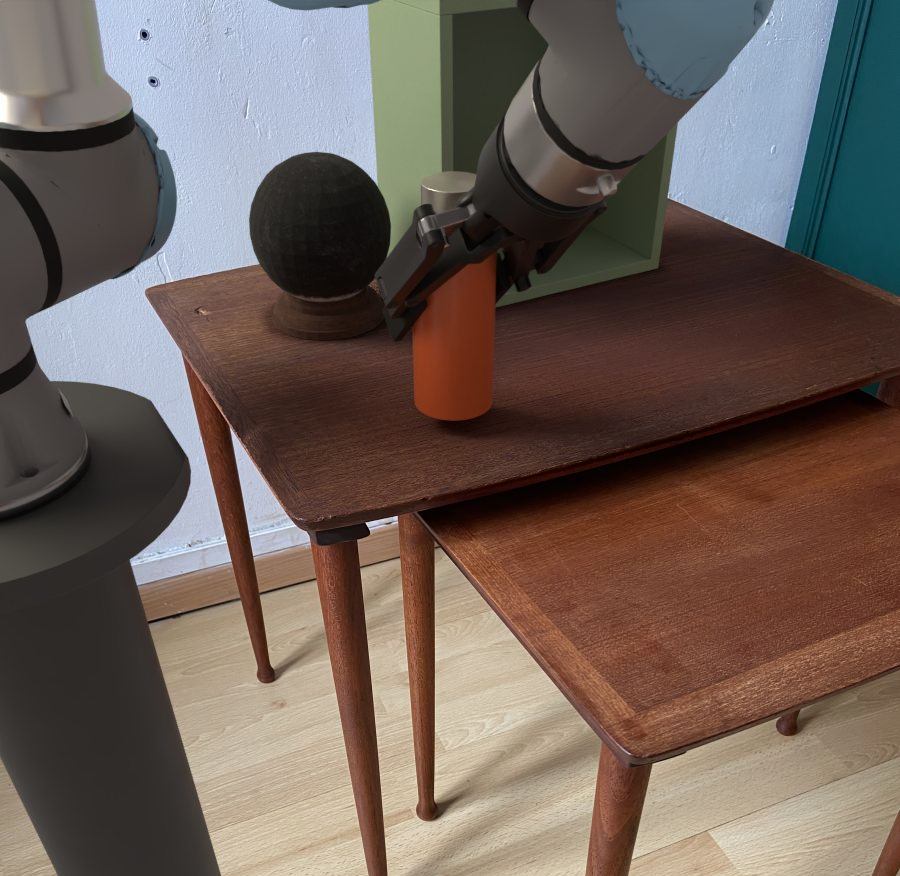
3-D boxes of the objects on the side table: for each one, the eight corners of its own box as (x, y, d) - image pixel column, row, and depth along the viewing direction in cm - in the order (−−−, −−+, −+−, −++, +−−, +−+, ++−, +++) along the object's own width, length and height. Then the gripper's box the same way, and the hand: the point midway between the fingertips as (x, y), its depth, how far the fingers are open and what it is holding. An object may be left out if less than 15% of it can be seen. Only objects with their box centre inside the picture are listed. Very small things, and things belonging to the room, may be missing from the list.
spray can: (418, 423, 75) (411, 198, 64) (411, 384, 80) (404, 168, 69) (498, 418, 76) (506, 194, 64) (486, 380, 80) (491, 165, 69)
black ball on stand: (418, 325, 92) (413, 162, 83) (291, 356, 88) (270, 187, 78) (361, 279, 101) (350, 126, 91) (243, 305, 96) (218, 147, 87)
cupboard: (658, 268, 103) (698, -29, 85) (443, 320, 93) (439, -2, 76) (584, 229, 112) (606, -46, 95) (382, 272, 103) (365, -25, 85)
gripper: (433, 242, 51) (336, 388, 73) (713, 185, 58) (549, 333, 80) (385, 112, 51) (302, 296, 73) (671, 71, 58) (518, 249, 80)
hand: (431, 315), depth 76 cm, fingers closed on spray can, 6 cm apart
